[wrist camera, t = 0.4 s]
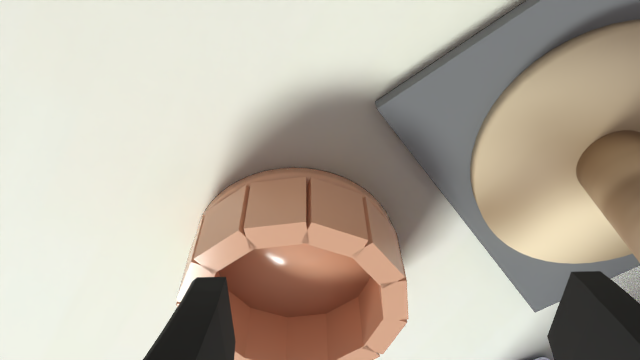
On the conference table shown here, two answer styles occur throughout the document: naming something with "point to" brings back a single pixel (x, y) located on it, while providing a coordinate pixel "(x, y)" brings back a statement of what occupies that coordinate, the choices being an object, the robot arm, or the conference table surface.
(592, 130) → the lid
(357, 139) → the conference table surface
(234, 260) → the bowl
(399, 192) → the conference table surface
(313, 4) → the conference table surface
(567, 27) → the mat
